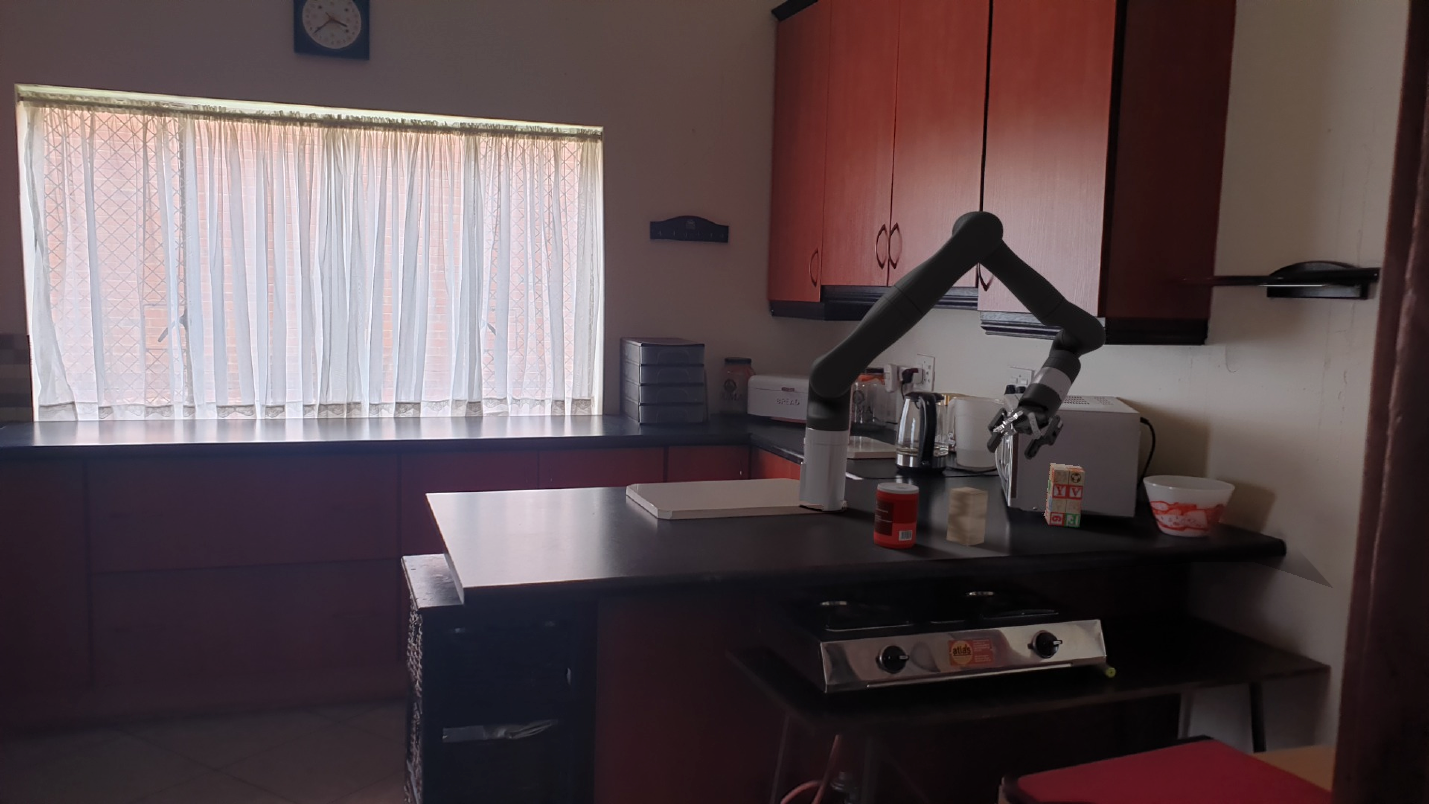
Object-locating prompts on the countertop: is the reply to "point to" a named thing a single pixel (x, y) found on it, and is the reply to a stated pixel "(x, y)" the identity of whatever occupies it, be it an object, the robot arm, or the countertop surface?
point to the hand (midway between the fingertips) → (1008, 453)
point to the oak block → (967, 516)
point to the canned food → (896, 515)
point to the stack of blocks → (1064, 495)
